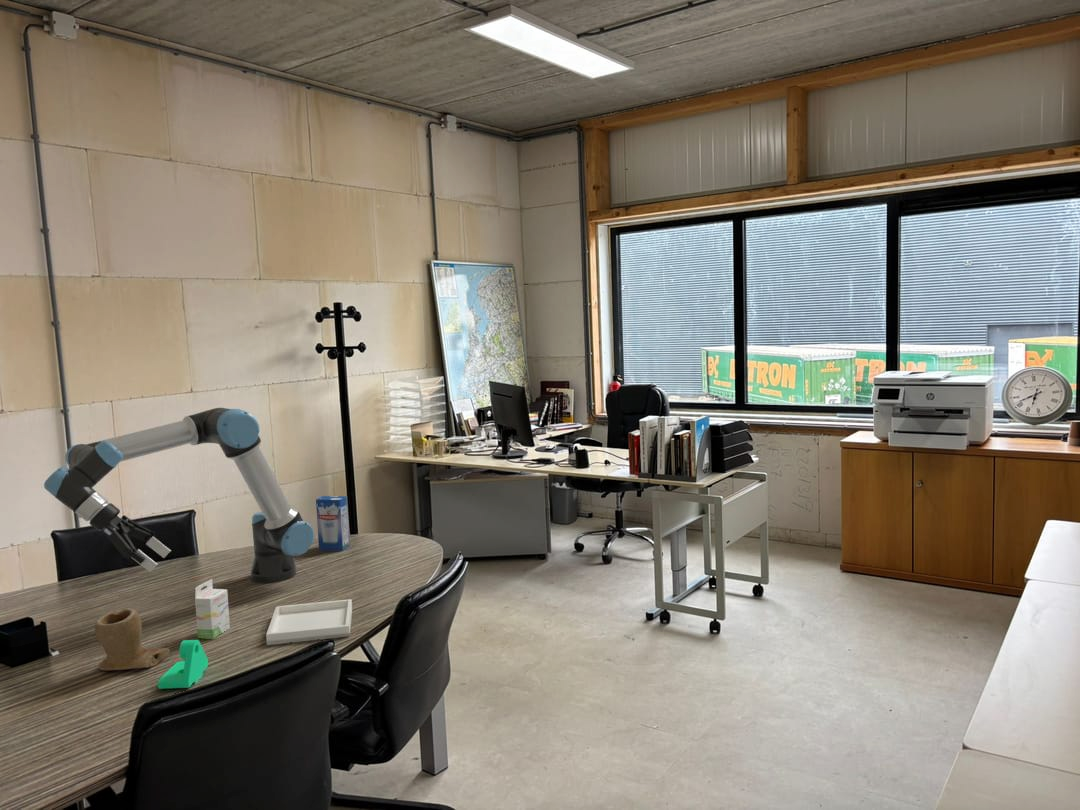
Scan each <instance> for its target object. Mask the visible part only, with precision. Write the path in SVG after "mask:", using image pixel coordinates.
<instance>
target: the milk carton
mask: <svg viewBox="0 0 1080 810" xmlns="http://www.w3.org/2000/svg"><path fill="white" fill-rule="evenodd" d="M347 499H348V496H347V495H345V496H344V495H322V496H320V497H317V498H316V499H315V503H316V504H315V506H316V520H317V522H316V523H317V525H316V526H317V536H318V539H317V541H318V550H319V551H333V552H334V551H336V552H337V551H339V552H344V550H347V549H348V548H349V547H350V531H349V529H350V527H349V515H348V514H349V513H348V500H347Z"/></svg>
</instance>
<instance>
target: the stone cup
mask: <svg viewBox="0 0 1080 810" xmlns="http://www.w3.org/2000/svg"><path fill="white" fill-rule="evenodd" d="M142 628H143V627H142V620H141V616H140V614H139V613H138V612H137V610H135V609H133V608H124V609H121V610H114V611H110V612H108V613H106V614H104V615H102V616H100V617H99V618H98V619H97V620H96V621H95V623H94V631H95V636H96V638H97V639H98V642H99V644H100V645H101V647H102V648H103V650H104V652H105V654H106V658H104V659H103V660H102V661H101V662H100V663H99V665H98V669H99V670H101V671H121V670H122V671H123V670H124V671H125V670H134V669H135V670H136V669H143V668H144V669H145V668H151V667H154V666H157V664H159V663H161V662H162V661H163V660H164V659H165V658H166V657H167V655H168V654H169V652H170V649H169V648H167V647H164V648H163V647H161V648H144V647H143V646H142Z"/></svg>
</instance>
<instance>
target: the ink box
mask: <svg viewBox="0 0 1080 810" xmlns="http://www.w3.org/2000/svg"><path fill="white" fill-rule="evenodd" d="M204 587H205V588H204ZM194 590H195V591H194V593H195V594H194V597H195V598H194V603H195V604H194V605H195V616H196V617H195V618H196V629H197V632H196V633H197V639H198V638H202V639H201V640H214V639H215V638H217V637H218V635H219V634H220V635H222V634H223V633H225V632H226V631H228V630H230V627H231V626H230V612H229V599H228V598H229V597H228V589H223V588H214V587H213V579H212V578H210V579H209V580H207V581H205V582H203V583H201V584H200V585H197V586H195V588H194ZM227 629H228V630H227ZM224 631H225V632H224ZM221 633H222V634H221ZM220 635H219V636H220ZM216 636H217V637H216ZM204 638H205V639H204ZM213 638H214V639H213Z"/></svg>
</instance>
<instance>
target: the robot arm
mask: <svg viewBox="0 0 1080 810" xmlns="http://www.w3.org/2000/svg"><path fill="white" fill-rule="evenodd" d="M259 425H260V424H259V422H258V420H257V419H256V417H255V416H254V415H253V414H251V413H250V412H248V411H246V410H244V409H240V408H227V407H226V408H225V407H215V408H211V409H207V410H203V411H201V412H197V413H194V414H189V415H186V416H184V417H183V418H182V420H180V421H175V422H172V423H167V424H163V425H160V426H159V425H158V426H155V427H151V428H147V429H143V430H139V431H134V432H130V433H126V434H123V435H118V436H115V437H111V438H107V439H103V440H99V441H95V442H90V443H86V444H85V443H79V444H74V445H72V446H71V447H69V448H68V449H67V451H66V453H65V457H64V459H65V462H66V465H68V466H69V467H70V468H68V467H66V466H61V467H59V468H57V469H56V470H55V471H54V472H53V473H51V474H50V475H49V476H48V478H47V479H46V480H45V481H44V483H43V487H44V489H45V490H46V491H47V492H48V493H49V494H51V495H52V496H53V497H54V498H55V499H56V500H58V501H59V502H60V503H62V504H64V505H65V506H66V507H67V508H68V509H69V510H71V511H72V512H74V514H76V515H77V517H78V518H80V519H81V518H82V519H83V520H84V521H85V522H89V525H90V526H91V527H93V528H94V529H95V530H96V531H97V532H101V531H102V532H101V534H102V535H103V536H105V537H106V538H107V539H108V540H109V541H110V543H111V544H112V545H113V547H115V548H116V550H117V551H118V552H119V553H120V555H121V556H122V557H123V558H125V559H126V560H130V558H131V559H132V560H134V561H135V562H136V563H137V564H138V565H140V566H141V567H143V568H144V569H145V570H146V571H147V572H149V573H151V572H153V570H154V569H155V568H156V567H157V566H158V565H159V564H158V563H157V562H156V561H154V560H153V559H152V558H151V557H149V556H148V555H147V554H145V553H144V552H143V551H142V550H141V549H139V548H138V549H137V548H136V547H135V545H134V543H133V541H132V540H131V539H130V537H132V538H134V539H138V540H140V541H142V542H145V545H146V546H147V547H149V548H150V549H152V550H153V552H155V553H157V554H158V555H159V556H161V558H163V559H164V558H166V557H167V556H168V554H169V553H170V552H172V550H171V549H170V548H169V547H167V546H166V545H165V544H163V543H162V542H161V541H160V540H159V539H157V537H155V535H156V534H155V532H154V531H153V530H151V529H149V528H147V527H145V526H144V525H141V524H140V523H138V522H135V521H134V520H132V519H131V518H129V517H128V516H127V515H125V514H123V515H122V516H121V517H120V516H118V515H119V514H120V513H121V510H120V509H119V507H117V506H115V504H113V503H110V502H109V500H108V499H107V498H106V497H104V496H103V495H102V494H101V493H99V492H98V491H96V490H95V489H94V487H95V486H96V485H97V484H98V483H99V482H100V481H101V480H102V479H104V477H106V476H107V475H108V474H109V473H110V472H111V471H112V470H113V469H115V468H116V467H117V465H119V463H120V462H125V461H128V460H133V459H136V458H140V457H144V456H147V455H151V454H155V453H158V452H162V451H165V450H170V449H173V448H177V447H182V446H185V445H188V444H190V445H191V446H197V445H201V444H202V445H203V444H216V445H217V444H218V445H219V447H220V448H221V450H222V452H223V454H224V455H225V457H226V458H227V459H230V460H233V462H234V463H235V465H236V467H237V469H238V471H239V472H240V474H241V476H242V478H243V479H244V482H245V483H246V485H247V487H248V489H249V491H250V492H251V494H252V496H253V498H254V500H255V502H256V504H257V505H258V507H259V509H260V512H256V513H253V516H252V517H251V526H252V527H251V529H252V538H253V539H252V540H253V551H254V557H253V561H252V565H251V569H250V579H251V580H250V581H253V582H256V583H273V582H281V581H284V580H288V579H290V578H293V577H294V576H296V574H297V566H296V564H295V562H294V559H293V556H294V557H296V556H301V555H303V554H305V553H307V552H308V551H309V549H310V548H311V546H312V545H313V542H314V540H315V530H314V528H313V526H312V525H311V524H310V523H309V522H307V521H304V519H303V518H302V516H301V513H300V512H299V510H298V508H297V507H293V506H291V505H290V503H289V501H288V500H287V497H286V496H285V494H284V492H283V490H282V488H281V485H280V484H279V482H278V480H277V478H276V476H275V475H274V472H273V471H272V469H271V466H270V465H269V464H268V461H267V459H266V458H265V457H266V456H264V453H263V452H262V449H261V448H260V445H261V443H262V440H261V437H260V435H259V433H260V426H259ZM108 502H109V503H108ZM129 536H130V537H129Z"/></svg>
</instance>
